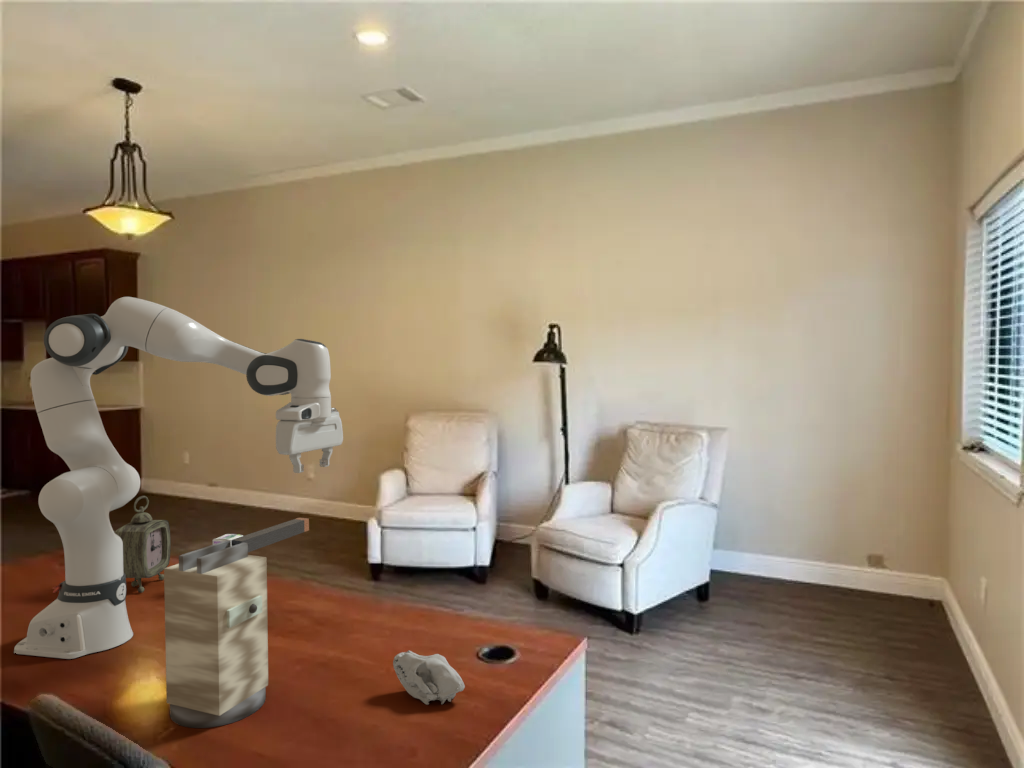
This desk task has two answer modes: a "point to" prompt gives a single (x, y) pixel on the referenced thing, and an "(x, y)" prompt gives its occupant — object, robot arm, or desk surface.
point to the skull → (427, 676)
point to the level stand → (216, 635)
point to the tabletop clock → (145, 546)
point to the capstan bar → (273, 534)
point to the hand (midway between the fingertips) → (311, 469)
